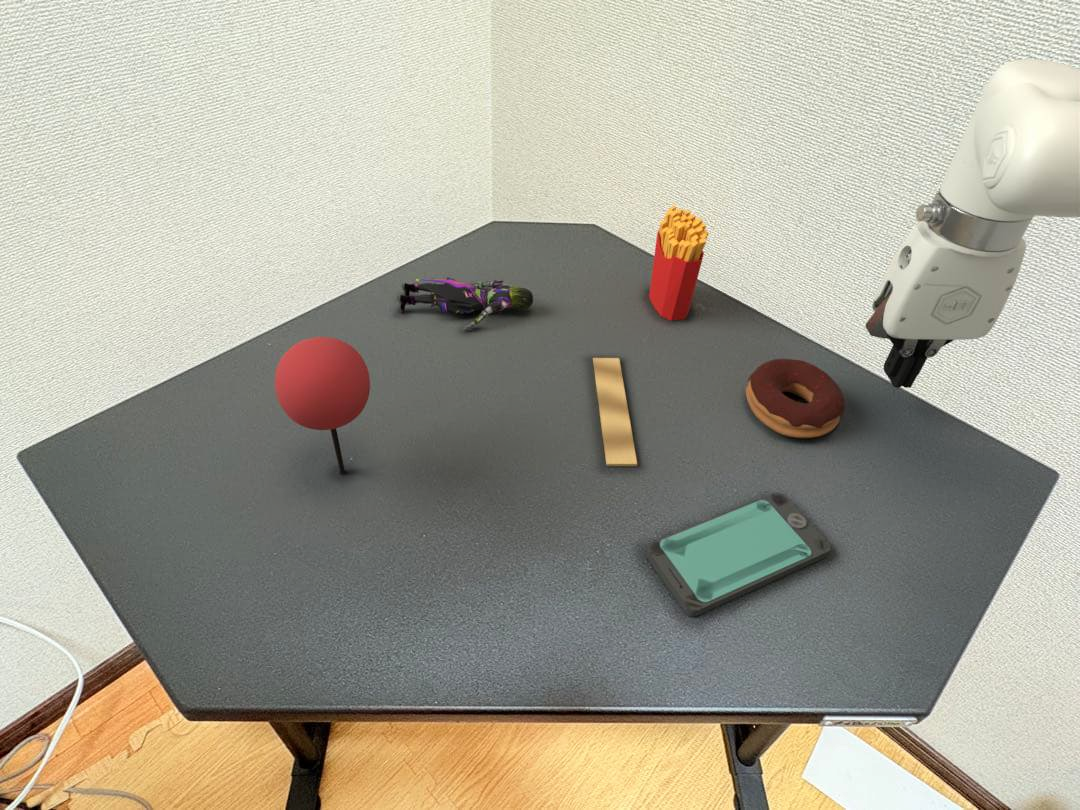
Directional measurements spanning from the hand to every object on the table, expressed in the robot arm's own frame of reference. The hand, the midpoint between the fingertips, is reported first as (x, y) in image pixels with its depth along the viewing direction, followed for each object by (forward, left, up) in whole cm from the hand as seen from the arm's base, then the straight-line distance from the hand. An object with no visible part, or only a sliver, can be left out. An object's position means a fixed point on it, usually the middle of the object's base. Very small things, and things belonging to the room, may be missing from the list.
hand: (896, 378), depth 75 cm
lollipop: (+52, +22, -5) cm, 56 cm away
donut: (+10, +3, -5) cm, 11 cm away
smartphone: (+15, +23, -5) cm, 28 cm away
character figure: (+48, -6, -5) cm, 48 cm away
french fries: (+24, -13, -5) cm, 28 cm away
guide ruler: (+28, +7, -4) cm, 29 cm away
